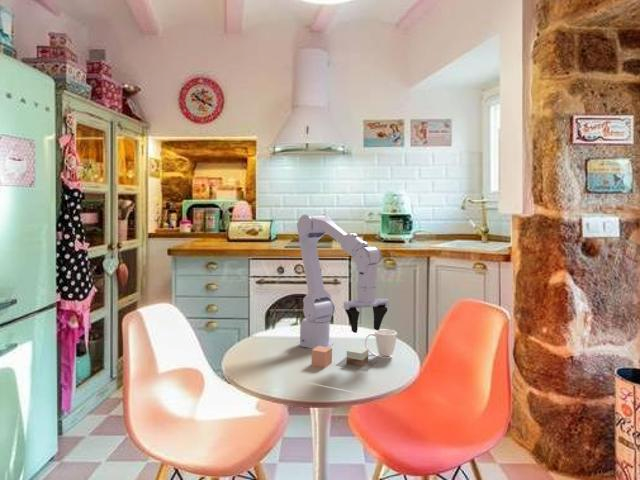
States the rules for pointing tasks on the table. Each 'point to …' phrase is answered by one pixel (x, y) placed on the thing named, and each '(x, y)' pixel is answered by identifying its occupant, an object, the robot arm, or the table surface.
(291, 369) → the table surface
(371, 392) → the table surface
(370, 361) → the coaster
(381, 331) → the cup
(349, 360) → the tower base
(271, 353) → the table surface
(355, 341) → the table surface
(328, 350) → the block
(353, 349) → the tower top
